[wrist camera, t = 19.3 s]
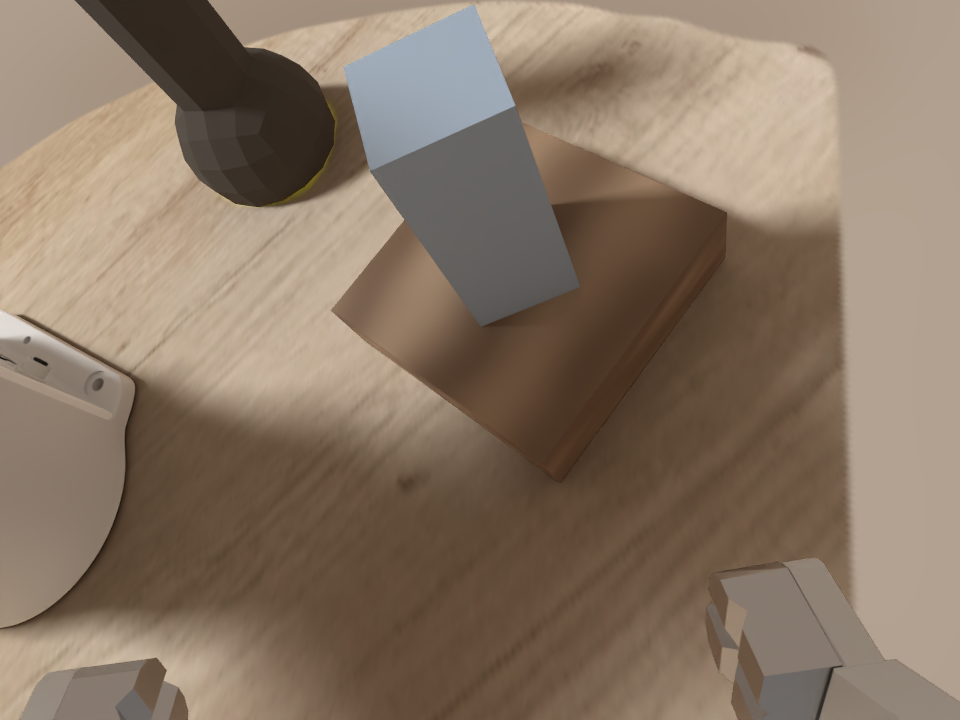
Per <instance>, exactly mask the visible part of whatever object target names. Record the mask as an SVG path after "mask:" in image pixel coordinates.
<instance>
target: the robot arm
mask: <svg viewBox="0 0 960 720" xmlns="http://www.w3.org/2000/svg"><path fill="white" fill-rule="evenodd" d="M134 395H135V385H134V382H133V380H132V379H131V378H129V377H128V376H126V375H124V374H122V373H121V372H119V371H117V370H115V369H113V368H112V367H110V366H108V365H106V364H104V363H103V362H101V361H99V360H97V359H95V358H93V357H92V356H90V355H88V354H86V353H84V352H83V351H81V350H79V349H77V348H75V347H74V346H72V345H70V344H68V343H66V342H64V341H63V340H61V339H59V338H57V337H55V336H54V335H52V334H50V333H48V332H46V331H45V330H43V329H41V328H39V327H37V326H35V325H34V324H32V323H30V322H28V321H26V320H25V319H23V318H21V317H19V316H17V315H15V314H12V313H9V312H6V311H4V310H0V628H2V627H8V626H12V625H16V624H19V623H21V622H24V621H26V620H28V619H31V618H33V617H34V616H36V615H38V614H40V613H41V612H43V611H44V610H46V609H47V608H49V607H50V606H52V605H53V604H54V603H55V602H57V601H58V600H59V599H60V598H61V597H63V596H64V595H65V594H66V593H67V592H68V591H69V590H70V589H71V588H72V587H73V586H74V585H75V584H76V582H77V581H78V580H79V579H80V578H81V577H82V575H83V574H84V573H85V571H86V570H87V569H88V567H89V566H90V565H91V563H92V562H93V560H94V559H95V557H96V556H97V554H98V552H99V551H100V549H101V547H102V545H103V544H104V542H105V540H106V538H107V536H108V534H109V531H110V529H111V527H112V524H113V522H114V519H115V516H116V513H117V510H118V507H119V504H120V500H121V496H122V491H123V485H124V478H125V442H124V440H125V427H126V424H127V421H128V418H129V414H130V411H131V408H132V404H133V400H134ZM708 590H709V592H710V594H711V597H712V599H713V602H712V603H711V604H710V605H709V606H707V607H706V629H707V635H708V641H709V644H710V648H711V651H712V655H713V657H714V660H715V663H716V665H717V668H718V670H719V673H720V674H722V675H723V676H724V677H726V678H727V679H728V680H729V681H731V682H732V683H733V684H734V685H733V693H732V701H731V703H732V706H733V708H734V711H735V713H736V716H737V718H738V720H960V702H959V701H958V700H956V699H955V698H953V697H952V696H950V695H949V694H947V693H946V692H944V691H943V690H941V689H940V688H938V687H937V686H935V685H934V684H932V683H931V682H929V681H928V680H926V679H925V678H923V677H922V676H920V675H919V674H917V673H916V672H914V671H913V670H911V669H910V668H908V667H907V666H905V665H904V664H902V663H901V662H899V661H898V660H896V659H895V660H885V659H884V658H883V657H882V655H881V653H880V652H879V650H878V649H877V647H876V645H875V644H874V642H873V641H872V639H871V637H870V636H869V634H868V633H867V631H866V629H865V628H864V626H863V625H862V623H861V621H860V620H859V618H858V617H857V615H856V613H855V612H854V610H853V609H852V607H851V606H850V604H849V602H848V601H847V599H846V598H845V596H844V594H843V593H842V591H841V590H840V588H839V586H838V585H837V583H836V582H835V580H834V579H833V577H832V575H831V574H830V572H829V571H828V569H827V567H826V566H825V564H824V563H823V562H821V561H820V560H819V559H818V558H813V557H811V558H805V559H799V560H794V561H788V562H782V563H779V562H774V563H768V564H762V565H756V566H751V567H745V568H739V569H733V570H727V571H721V572H715V573H712V575H711V576H710V577H709V585H708ZM166 671H167V670H166V669H165V668H164V666H163V665H162V664H161V662H160V661H159V660H158V659H157V658H151V659H144V660H137V661H129V662H122V663H115V664H108V665H100V666H93V667H83V668H76V669H70V670H63V671H56V672H50V673H47V674H46V675H45V676H44V677H43V678H42V679H41V680H40V681H39V682H38V683H37V685H36V686H35V688H34V690H33V692H32V694H31V696H30V699H29V701H28V703H27V705H26V707H25V709H24V711H23V713H22V715H21V717H20V719H19V720H188V708H187V705H186V701H185V697H184V695H183V694H182V692H181V691H180V689H179V688H178V687H176V686H174V685H172V684H170V683H167V682H165V681H163V680H164V677H165V674H166Z"/></svg>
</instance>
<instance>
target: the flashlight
mask: <svg viewBox="0 0 960 720" xmlns="http://www.w3.org/2000/svg"><path fill="white" fill-rule="evenodd" d="M75 1H76V2H77V3H78V4H79V5H80V6H81V7H82V8H83V9H84V10H85V11H86V12H87V13H88V14H89V15H90V16H91V17H92V18H93V19H94V20H95V21H96V22H97V23H98V24H99V25H100V26H101V27H102V28H103V29H104V30H105V32H106V33H107V34H108V35H109V36H110V37H111V38H112V39H113V40H114V41H115V42H116V43H117V44H118V45H119V46H120V47H121V48H122V49H123V50H124V51H125V52H126V53H127V54H128V55H129V56H130V57H131V58H132V59H133V60H134V61H135V62H136V63H137V64H138V65H139V66H140V67H141V68H142V69H143V70H144V71H145V72H146V73H147V74H148V75H149V76H150V77H151V78H152V79H153V80H154V82H155V83H156V84H157V85H158V86H159V87H160V88H161V89H162V90H163V91H164V92H165V93H166V94H167V95H168V96H169V97H170V98H171V99H172V100H173V101H174V102H175V103H176V104H177V109H176V117H175V125H176V130H177V134H178V138H179V142H180V146H181V149H182V152H183V156H184V159H185V161H186V162H187V164H188V165H189V167H190V168H191V169H192V171H193V172H194V173H195V175H196V176H197V177H198V179H199V180H200V181H202V182H203V183H204V184H206V185H207V186H208V187H210V188H211V189H213V190H214V191H215V192H217V193H219V194H220V195H222V196H224V197H225V198H227V199H229V200H230V201H232V202H233V203H235V204H241V205H248V206H255V207H260V206H264V205H267V204H271V203H275V202H279V201H282V200H284V199H286V198H287V197H289V196H290V195H292V194H293V193H295V192H296V191H298V190H300V189H301V188H303V187H304V186H305V185H306V184H307V183H308V182H309V181H310V180H311V179H312V178H313V177H314V176H315V175H316V174H317V173H318V172H319V171H320V169H321V168H322V167H323V166H324V163H325V161H326V159H327V157H328V155H329V153H330V151H331V149H332V147H333V145H334V128H335V120H334V118H333V116H332V114H331V111H330V109H329V107H328V105H327V102H326V100H325V98H324V95H323V93H322V91H321V89H320V86H319V84H318V82H317V81H316V80H315V79H314V78H313V77H312V76H311V75H310V74H309V73H308V72H307V71H306V70H305V69H304V68H302V67H301V66H300V65H299V64H297V63H295V62H293V61H291V60H290V59H288V58H286V57H284V56H282V55H279V54H277V53H274V52H271V51H269V50H266V49H259V48H246V47H243V45H242V44H241V43H240V42H239V40H238V39H237V38H236V37H235V35H234V34H233V33H232V31H231V30H230V29H229V27H228V26H227V25H226V24H225V22H224V21H223V20H222V18H221V17H220V16H219V15H218V13H217V12H216V11H215V10H214V8H213V7H212V6H211V4H210V3H209V2H208V0H75Z"/></svg>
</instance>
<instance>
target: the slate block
mask: <svg viewBox="0 0 960 720" xmlns="http://www.w3.org/2000/svg"><path fill="white" fill-rule="evenodd" d="M344 71H345V75H346V79H347V83H348V87H349V91H350V95H351V98H352V102H353V106H354V110H355V114H356V118H357V122H358V126H359V130H360V134H361V138H362V142H363V146H364V150H365V154H366V158H367V161H368V165H369V169H370V172H371V173H372V175H373V176H374V178H375V179H376V180H377V182H378V183H379V185H380V186H381V187H382V189H383V190H384V192H385V193H386V194H387V196H388V197H389V199H390V200H391V201H392V203H393V204H394V206H395V207H396V208H397V210H398V211H399V213H400V214H401V215H402V217H403V218H404V220H405V221H406V222H407V224H408V225H409V227H410V228H411V229H412V231H413V232H414V234H415V235H416V236H417V238H418V239H419V241H420V242H421V244H422V245H423V246H424V248H425V249H426V251H427V252H428V253H429V255H430V256H431V258H432V259H433V260H434V262H435V263H436V265H437V266H438V267H439V269H440V270H441V272H442V273H443V274H444V276H445V277H446V279H447V280H448V281H449V283H450V284H451V286H452V287H453V288H454V290H455V291H456V293H457V294H458V295H459V297H460V298H461V300H462V301H463V302H464V304H465V305H466V307H467V308H468V309H469V311H470V312H471V314H472V315H473V317H474V318H475V319H476V321H477V322H478V324H479V325H480V326H481V327H482V326H484V325H487V324H489V323H492V322H494V321H497V320H499V319H502V318H504V317H507V316H509V315H512V314H514V313H517V312H519V311H522V310H524V309H527V308H529V307H532V306H534V305H537V304H539V303H542V302H544V301H547V300H549V299H552V298H554V297H557V296H559V295H562V294H564V293H567V292H569V291H572V290H574V289H577V288H579V287H580V284H579V282H578V279H577V276H576V273H575V270H574V268H573V265H572V262H571V259H570V256H569V254H568V251H567V248H566V245H565V242H564V240H563V237H562V234H561V231H560V228H559V226H558V223H557V220H556V217H555V214H554V212H553V209H552V206H551V203H550V201H549V198H548V195H547V192H546V189H545V187H544V184H543V181H542V178H541V175H540V173H539V170H538V167H537V164H536V161H535V159H534V156H533V153H532V150H531V147H530V145H529V142H528V139H527V136H526V133H525V131H524V128H523V125H522V122H521V120H520V117H519V114H518V111H517V108H516V106H515V103H514V101H513V98H512V96H511V93H510V91H509V88H508V86H507V83H506V81H505V79H504V76H503V74H502V71H501V69H500V66H499V64H498V61H497V59H496V56H495V54H494V52H493V49H492V47H491V44H490V42H489V39H488V37H487V34H486V32H485V29H484V27H483V25H482V22H481V20H480V17H479V15H478V12H477V10H476V7H475V5H474V4H473V5H471V6H469V7H467V8H465V9H463V10H461V11H459V12H457V13H455V14H453V15H450V16H448V17H446V18H444V19H442V20H440V21H438V22H436V23H434V24H432V25H430V26H428V27H425V28H423V29H421V30H419V31H417V32H415V33H413V34H411V35H409V36H407V37H405V38H403V39H400V40H398V41H396V42H394V43H392V44H390V45H388V46H386V47H384V48H382V49H380V50H378V51H375V52H373V53H371V54H369V55H367V56H365V57H363V58H361V59H359V60H357V61H355V62H353V63H351V64H348V65H346V66H344Z"/></svg>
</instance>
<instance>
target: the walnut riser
mask: <svg viewBox="0 0 960 720" xmlns="http://www.w3.org/2000/svg"><path fill="white" fill-rule="evenodd" d="M522 125H523V128H524V131H525V133H526V136H527V139H528V142H529V145H530V147H531V150H532V153H533V156H534V159H535V161H536V164H537V167H538V170H539V173H540V175H541V178H542V181H543V184H544V187H545V189H546V192H547V195H548V198H549V201H550V203H551V206H552V209H553V212H554V214H555V217H556V220H557V223H558V226H559V228H560V231H561V234H562V237H563V240H564V242H565V245H566V248H567V251H568V254H569V256H570V259H571V262H572V265H573V268H574V270H575V273H576V276H577V279H578V282H579V284H580V287H579V288H577V289H574V290H572V291H569V292H567V293H564V294H562V295H559V296H557V297H554V298H552V299H549V300H547V301H544V302H542V303H539V304H537V305H534V306H532V307H529V308H527V309H524V310H522V311H519V312H517V313H514V314H512V315H509V316H507V317H504V318H502V319H499V320H497V321H494V322H492V323H489V324H487V325H484V326H482V327H481V326H480V325H479V324H478V322H477V321H476V319H475V318H474V317H473V315H472V314H471V312H470V311H469V309H468V308H467V307H466V305H465V304H464V302H463V301H462V300H461V298H460V297H459V295H458V294H457V293H456V291H455V290H454V288H453V287H452V286H451V284H450V283H449V281H448V280H447V279H446V277H445V276H444V274H443V273H442V272H441V270H440V269H439V267H438V266H437V265H436V263H435V262H434V260H433V259H432V258H431V256H430V255H429V253H428V252H427V251H426V249H425V248H424V246H423V245H422V244H421V242H420V241H419V239H418V238H417V236H416V235H415V234H414V232H413V231H412V229H411V228H410V227H409V225H408V224H407V222H406V221H405V220H404V221H403V223H402V224H401V225H400V226H399V228H398V229H397V230H396V231H395V232H394V234H393V235H392V236H391V237H390V239H389V240H388V241H387V242H386V244H385V245H384V246H383V247H382V248H381V250H380V251H379V252H378V253H377V255H376V256H375V257H374V258H373V259H372V261H371V262H370V263H369V264H368V266H367V267H366V268H365V269H364V271H363V272H362V273H361V274H360V275H359V277H358V278H357V279H356V280H355V282H354V283H353V284H352V285H351V286H350V288H349V289H348V290H347V291H346V293H345V294H344V295H343V296H342V298H341V299H340V300H339V301H338V302H337V304H336V305H335V306H334V307H333V309H332V310H331V311H332V312H333V313H334V314H335V315H337V316H338V317H339V318H340V319H341V320H342V321H343V322H344V323H345V324H347V325H348V326H349V327H350V328H351V329H352V330H353V331H354V332H356V333H357V334H358V335H359V336H360V337H361V338H362V339H363V340H365V341H366V342H367V343H369V344H370V345H371V346H373V347H374V348H375V349H377V350H378V351H380V352H381V353H382V354H384V355H385V356H386V357H388V358H389V359H391V360H392V361H393V362H395V363H396V364H397V365H399V366H400V367H402V368H403V369H404V370H406V371H407V372H408V373H410V374H411V375H413V376H414V377H415V378H417V379H418V380H419V381H421V382H422V383H424V384H425V385H426V386H428V387H429V388H430V389H432V390H433V391H435V392H436V393H437V394H439V395H440V396H441V397H443V398H444V399H446V400H447V401H448V402H450V403H451V404H452V405H454V406H455V407H457V408H458V409H459V410H461V411H462V412H463V413H465V414H466V415H468V416H469V417H470V418H472V419H473V420H474V421H476V422H477V423H479V424H480V425H481V426H483V427H484V428H485V429H487V430H488V431H490V432H491V433H492V434H494V435H495V436H496V437H498V438H499V439H501V440H502V441H503V442H505V443H506V444H507V445H509V446H510V447H512V448H513V449H514V450H516V451H517V452H518V453H520V454H521V455H523V456H524V457H525V458H527V459H528V460H529V461H531V462H532V463H534V464H535V465H536V466H538V467H539V468H540V469H542V470H543V471H545V472H546V473H547V474H549V475H550V476H551V477H553V478H554V479H556V480H557V481H558V482H560V483H561V482H562V480H563V479H564V477H565V476H566V475H567V473H568V472H569V471H570V469H571V468H572V466H573V465H574V464H575V462H576V461H577V460H578V458H579V457H580V456H581V454H582V453H583V451H584V450H585V449H586V447H587V446H588V445H589V443H590V442H591V440H592V439H593V438H594V436H595V435H596V434H597V432H598V431H599V429H600V428H601V427H602V425H603V424H604V423H605V421H606V420H607V418H608V417H609V416H610V414H611V413H612V412H613V410H614V409H615V408H616V406H617V405H618V403H619V402H620V401H621V399H622V398H623V397H624V395H625V394H626V392H627V391H628V390H629V388H630V387H631V386H632V384H633V383H634V381H635V380H636V379H637V377H638V376H639V375H640V373H641V372H642V370H643V369H644V368H645V366H646V365H647V364H648V362H649V361H650V359H651V358H652V357H653V355H654V354H655V353H656V351H657V350H658V349H659V347H660V346H661V344H662V343H663V342H664V340H665V339H666V338H667V336H668V335H669V333H670V332H671V331H672V329H673V328H674V327H675V325H676V324H677V322H678V321H679V320H680V318H681V317H682V316H683V314H684V313H685V311H686V310H687V309H688V307H689V306H690V305H691V303H692V302H693V301H694V299H695V298H696V296H697V295H698V294H699V292H700V291H701V290H702V288H703V287H704V285H705V284H706V283H707V281H708V280H709V279H710V277H711V276H712V274H713V273H714V272H715V270H716V269H717V268H718V266H719V265H720V263H721V262H722V261H723V259H724V258H725V246H726V221H727V212H725V211H722V210H720V209H718V208H715V207H713V206H711V205H709V204H706V203H704V202H702V201H699V200H697V199H695V198H693V197H690V196H688V195H686V194H684V193H681V192H679V191H677V190H674V189H672V188H670V187H668V186H665V185H663V184H661V183H658V182H656V181H654V180H652V179H649V178H647V177H645V176H642V175H640V174H638V173H636V172H633V171H631V170H629V169H626V168H624V167H622V166H620V165H617V164H615V163H613V162H610V161H608V160H606V159H604V158H601V157H599V156H597V155H595V154H592V153H590V152H588V151H585V150H583V149H581V148H579V147H576V146H574V145H572V144H569V143H567V142H565V141H563V140H560V139H558V138H556V137H553V136H551V135H549V134H547V133H544V132H542V131H540V130H537V129H535V128H533V127H531V126H528V125H526V124H524V123H522Z"/></svg>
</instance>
